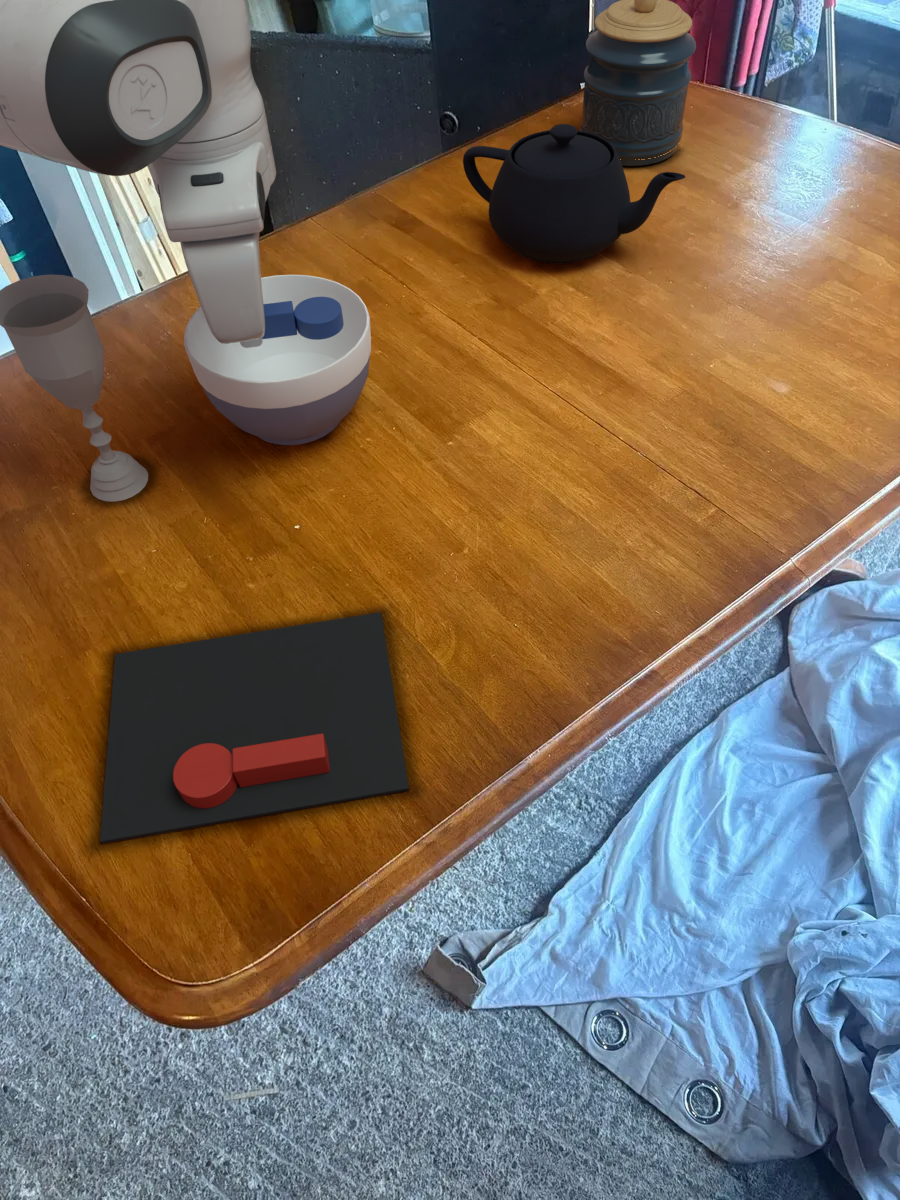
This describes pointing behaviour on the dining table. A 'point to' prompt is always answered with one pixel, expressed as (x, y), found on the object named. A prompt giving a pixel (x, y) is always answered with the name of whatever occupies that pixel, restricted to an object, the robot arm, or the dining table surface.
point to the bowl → (286, 367)
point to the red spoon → (245, 767)
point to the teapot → (561, 195)
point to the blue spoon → (304, 318)
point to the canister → (638, 78)
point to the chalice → (68, 366)
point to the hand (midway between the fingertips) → (251, 324)
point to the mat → (251, 721)
